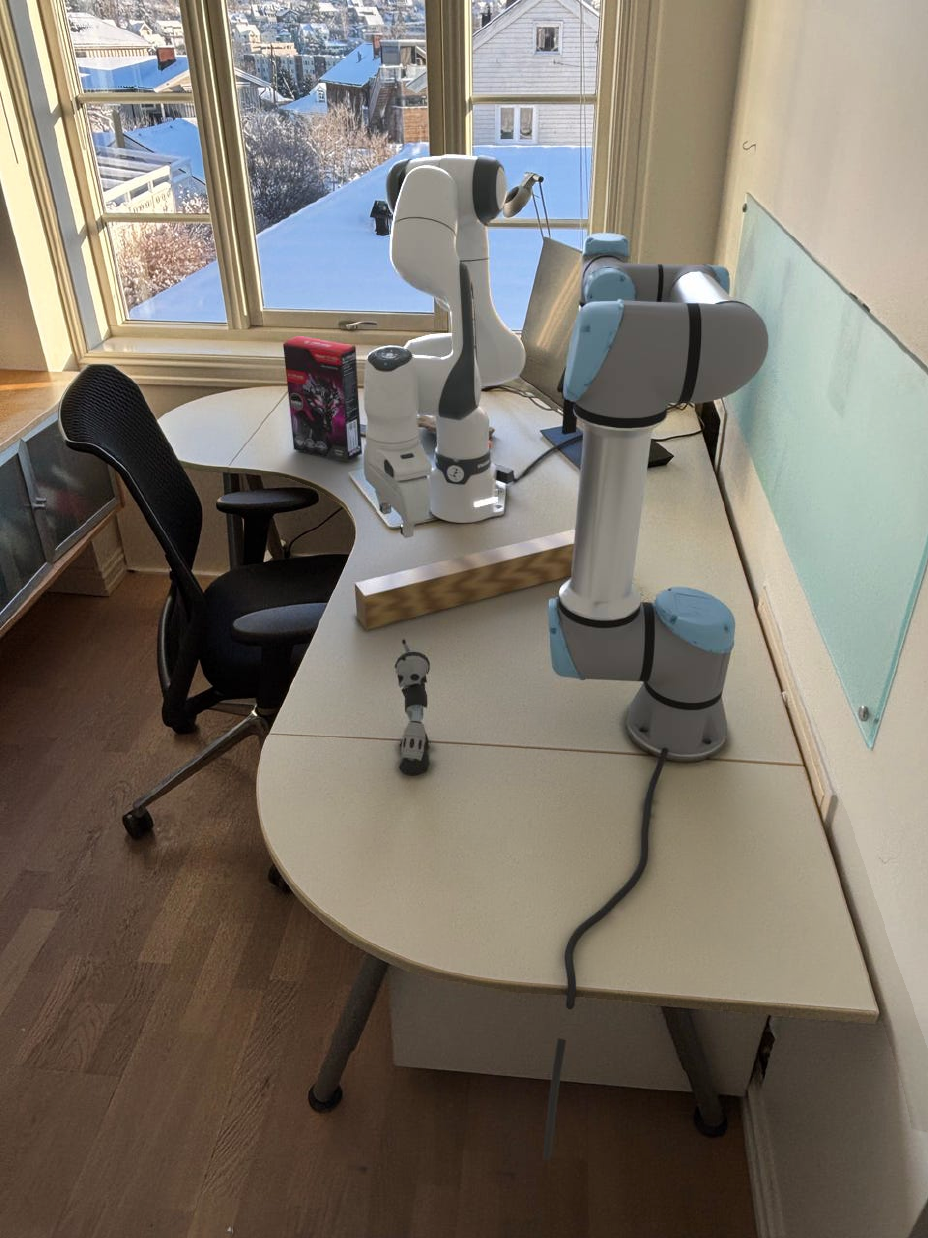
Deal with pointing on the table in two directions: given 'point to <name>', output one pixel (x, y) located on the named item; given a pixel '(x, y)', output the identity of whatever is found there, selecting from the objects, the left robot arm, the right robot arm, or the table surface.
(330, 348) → the graphics card box
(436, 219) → the left robot arm
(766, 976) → the table surface
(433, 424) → the stone
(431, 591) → the post
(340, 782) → the table surface
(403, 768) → the robot
